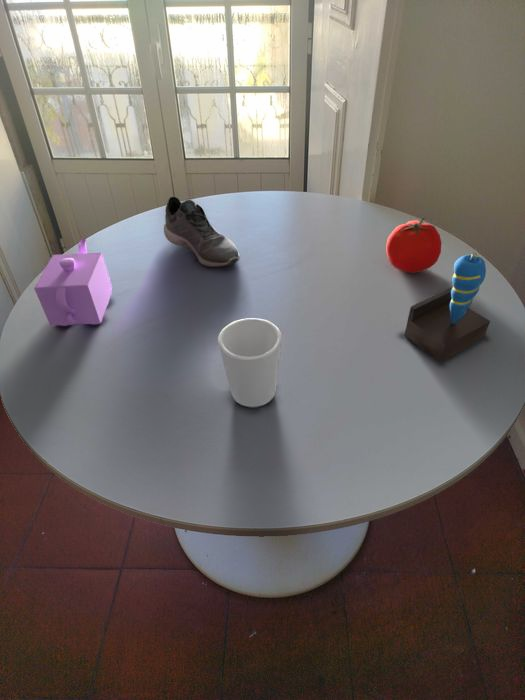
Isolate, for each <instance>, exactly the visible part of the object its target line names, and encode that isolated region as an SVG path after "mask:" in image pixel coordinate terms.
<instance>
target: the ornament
mask: <svg viewBox="0 0 525 700" xmlns="http://www.w3.org/2000/svg"><path fill="white" fill-rule="evenodd" d="M478 255H479V254H478V253H477V250H475V251H474V252H472V253H471V254H466V255H462V256H461V257H459V258H457V260H456V261H455V262H454V265H453V272H454V273H453V275H452V277H451V281H452V282H451V283H452V286H453V288H452V290H451V297H452V300H451V302H450V315H451V323H452V324H456V323H457V322H458V321H459V320H460V319H461V318H462V317H463V316H464V315H465V314H466V311H467V309H468V308H470V306H471V305H472V304H473V299H474V298H475V297H476V295H477V294H478V293H479V291H480V286H481V285H482V284H483V282H484V281H485V278H486V274H487V268H486V267H487V266H486V262H485V260H484V259H483V258H482V257H480V256H478Z"/></svg>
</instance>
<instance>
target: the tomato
mask: <svg viewBox="0 0 525 700" xmlns="http://www.w3.org/2000/svg"><path fill="white" fill-rule="evenodd" d="M425 219H426V218H425V217H422V219H421V220H420V221H419V220H418V219H415V220H408V222H406V223H402V224H399V225H398V226H396V227H395V228H394V230H393V231H392V232H391V233H390V235H389V236H388V238H387V241H386V245H385V248H386V249H385V250H386V256H387V259H388V261H389V263H390V265H392V266H393V267H394V268H395V269H397V270H399V271H403V272H407V273H410V274H411V273H412V274H413V273H414V274H415V273H417V274H418V273H420V272H423V271H425V270H428V269H430V268H432V267H433V266H434V265H435V264H436V263H437V262H438V260H439V258H440V255H441V253H442V239H441V235H440V233H439V232H438V230H437V228H436V227H435V225H432V224H430V223H425V222H424V223H423V221H424V220H425Z"/></svg>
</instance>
